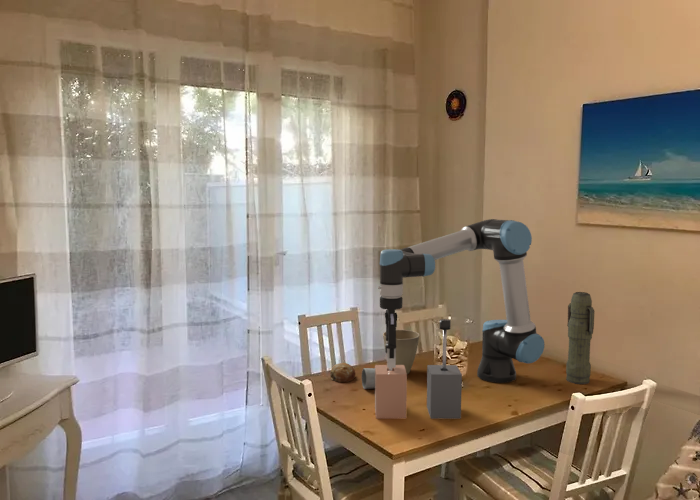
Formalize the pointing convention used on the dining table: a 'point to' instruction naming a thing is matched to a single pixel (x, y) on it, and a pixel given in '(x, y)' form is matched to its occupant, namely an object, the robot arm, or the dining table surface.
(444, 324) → the charcoal plunger
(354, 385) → the dining table surface
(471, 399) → the dining table surface
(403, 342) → the plant pot
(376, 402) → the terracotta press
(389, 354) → the robot arm
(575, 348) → the thermos
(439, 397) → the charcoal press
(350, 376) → the bread roll
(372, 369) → the ceramic mug
